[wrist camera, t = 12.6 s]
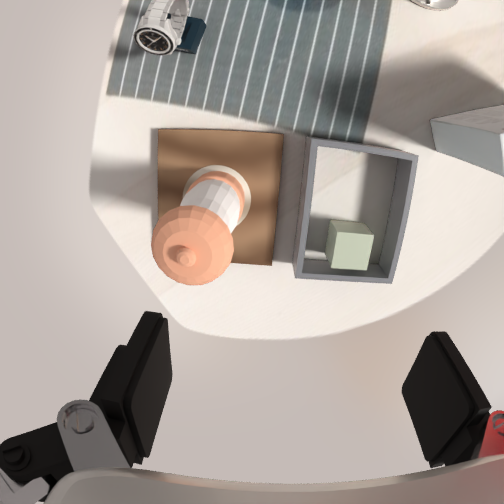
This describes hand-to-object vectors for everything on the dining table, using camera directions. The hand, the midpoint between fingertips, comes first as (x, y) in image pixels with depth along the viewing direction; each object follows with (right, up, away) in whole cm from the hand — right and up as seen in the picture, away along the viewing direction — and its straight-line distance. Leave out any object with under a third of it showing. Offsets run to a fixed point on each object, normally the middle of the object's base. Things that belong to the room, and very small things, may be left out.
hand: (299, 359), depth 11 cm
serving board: (-6, +11, +33) cm, 35 cm away
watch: (-11, +32, +24) cm, 41 cm away
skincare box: (+34, +23, +26) cm, 49 cm away
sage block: (+11, +6, +34) cm, 37 cm away
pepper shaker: (-6, +11, +32) cm, 34 cm away
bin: (+12, +10, +33) cm, 36 cm away
